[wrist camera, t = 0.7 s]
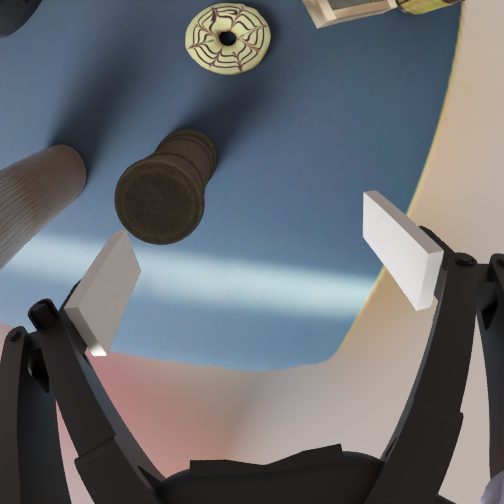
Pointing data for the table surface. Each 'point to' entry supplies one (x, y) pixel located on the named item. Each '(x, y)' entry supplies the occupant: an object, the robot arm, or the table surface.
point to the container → (167, 188)
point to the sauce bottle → (422, 5)
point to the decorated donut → (234, 20)
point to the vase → (36, 194)
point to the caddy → (344, 10)
